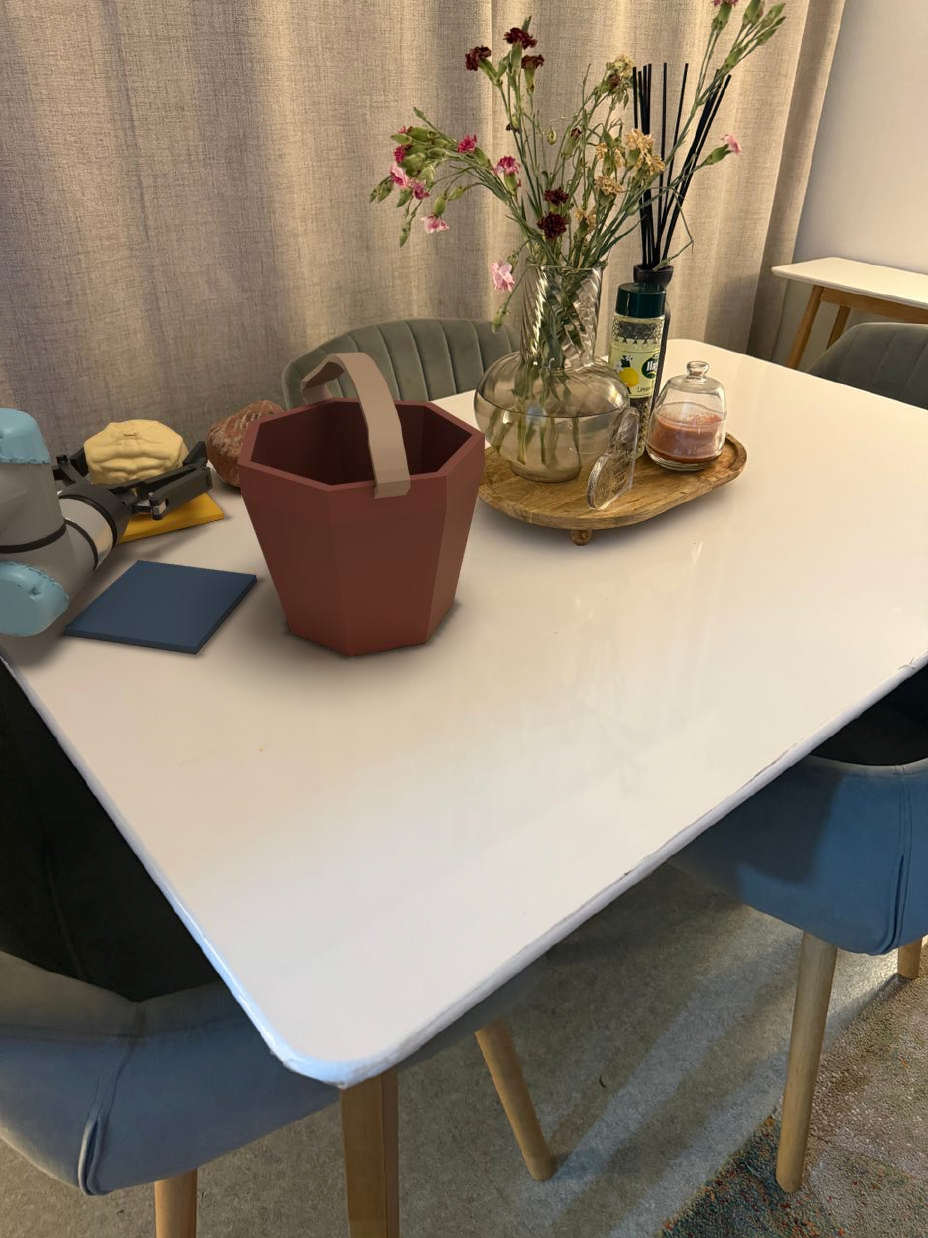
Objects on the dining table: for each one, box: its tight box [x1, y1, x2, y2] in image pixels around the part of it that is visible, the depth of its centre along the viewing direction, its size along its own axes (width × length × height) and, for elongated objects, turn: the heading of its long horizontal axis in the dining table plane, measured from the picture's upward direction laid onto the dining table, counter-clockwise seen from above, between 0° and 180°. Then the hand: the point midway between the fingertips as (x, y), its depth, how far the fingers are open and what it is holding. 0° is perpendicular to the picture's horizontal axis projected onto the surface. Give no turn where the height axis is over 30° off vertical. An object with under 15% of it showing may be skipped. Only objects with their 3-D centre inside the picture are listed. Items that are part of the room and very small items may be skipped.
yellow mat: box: [116, 492, 225, 545], centre depth 110 cm, size 14×14×1 cm
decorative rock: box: [205, 399, 284, 488], centre depth 116 cm, size 13×11×10 cm
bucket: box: [237, 352, 486, 657], centre depth 85 cm, size 24×22×25 cm
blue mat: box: [63, 559, 258, 655], centre depth 91 cm, size 14×14×1 cm
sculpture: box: [83, 419, 190, 515], centre depth 107 cm, size 12×12×11 cm
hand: (150, 449), depth 109 cm, fingers open, 13 cm apart
